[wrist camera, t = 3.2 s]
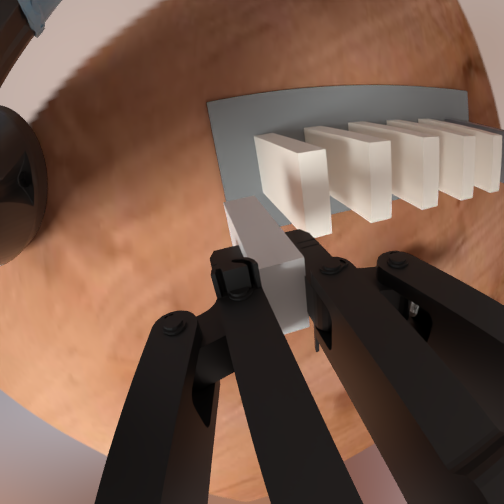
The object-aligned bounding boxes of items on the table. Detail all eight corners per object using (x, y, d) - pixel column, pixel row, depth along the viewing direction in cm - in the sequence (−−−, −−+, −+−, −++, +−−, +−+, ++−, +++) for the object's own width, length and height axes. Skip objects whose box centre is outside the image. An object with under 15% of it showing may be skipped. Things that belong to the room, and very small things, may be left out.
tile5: (419, 164, 28) (489, 192, 20) (418, 118, 26) (493, 135, 17) (429, 162, 28) (498, 190, 20) (428, 118, 26) (502, 135, 17)
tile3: (352, 174, 27) (422, 209, 18) (347, 122, 25) (423, 137, 16) (366, 172, 27) (437, 205, 19) (362, 121, 25) (439, 136, 16)
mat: (233, 236, 28) (234, 237, 27) (206, 102, 22) (206, 102, 22) (465, 183, 31) (467, 184, 31) (464, 90, 26) (467, 91, 25)
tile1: (262, 192, 26) (306, 239, 17) (253, 136, 24) (297, 153, 15) (280, 188, 26) (331, 233, 18) (272, 132, 24) (325, 148, 15)
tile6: (445, 160, 29) (512, 187, 20) (444, 118, 26) (515, 135, 18) (453, 159, 29) (519, 185, 20) (453, 118, 27) (522, 135, 18)
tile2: (310, 182, 27) (371, 223, 18) (303, 127, 24) (368, 143, 16) (326, 179, 27) (391, 217, 18) (320, 125, 24) (390, 140, 16)
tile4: (388, 169, 28) (460, 200, 19) (386, 120, 25) (463, 136, 17) (400, 167, 28) (472, 197, 19) (398, 119, 26) (475, 135, 17)
